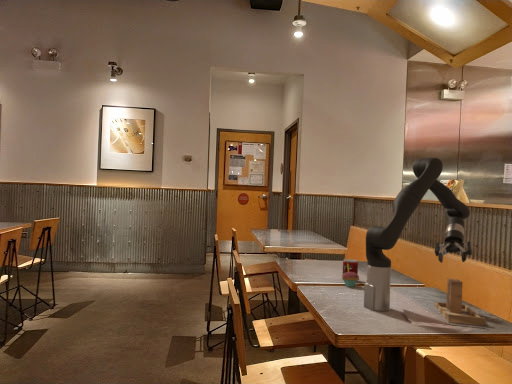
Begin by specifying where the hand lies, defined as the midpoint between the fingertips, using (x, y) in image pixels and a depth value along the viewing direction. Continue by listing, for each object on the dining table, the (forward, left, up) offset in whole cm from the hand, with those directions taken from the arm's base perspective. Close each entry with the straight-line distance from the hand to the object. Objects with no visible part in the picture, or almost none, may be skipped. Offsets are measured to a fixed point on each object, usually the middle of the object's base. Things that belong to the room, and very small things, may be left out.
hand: (451, 260), depth 163 cm
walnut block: (-6, -8, -18) cm, 21 cm away
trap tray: (-9, -13, -20) cm, 25 cm away
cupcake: (-23, +42, -20) cm, 52 cm away
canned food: (-16, +54, -20) cm, 60 cm away
